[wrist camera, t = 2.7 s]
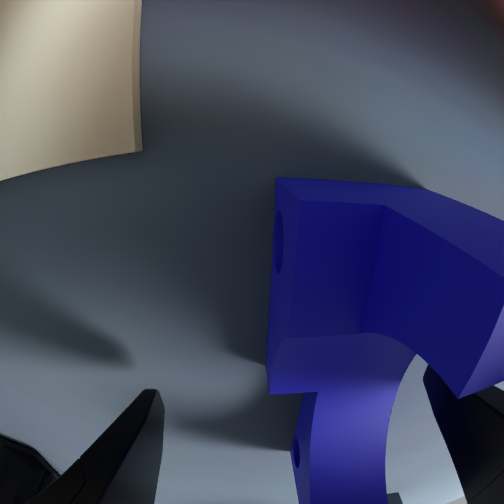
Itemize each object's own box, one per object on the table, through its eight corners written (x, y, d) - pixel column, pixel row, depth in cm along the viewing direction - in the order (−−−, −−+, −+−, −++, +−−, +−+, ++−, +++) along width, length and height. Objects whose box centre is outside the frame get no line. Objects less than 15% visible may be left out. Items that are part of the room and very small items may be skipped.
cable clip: (275, 176, 7) (385, 293, 2) (423, 188, 8) (593, 271, 2) (257, 450, 12) (268, 562, 6) (349, 440, 12) (380, 541, 6)
